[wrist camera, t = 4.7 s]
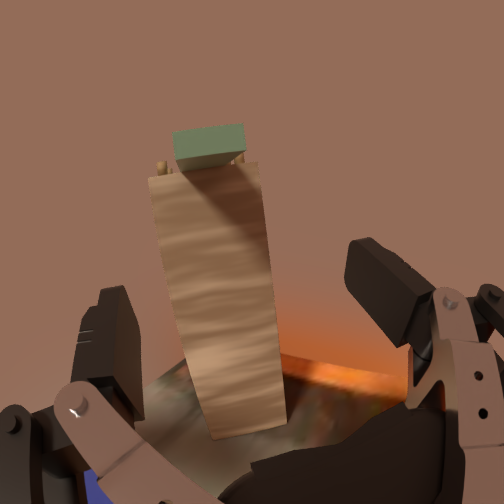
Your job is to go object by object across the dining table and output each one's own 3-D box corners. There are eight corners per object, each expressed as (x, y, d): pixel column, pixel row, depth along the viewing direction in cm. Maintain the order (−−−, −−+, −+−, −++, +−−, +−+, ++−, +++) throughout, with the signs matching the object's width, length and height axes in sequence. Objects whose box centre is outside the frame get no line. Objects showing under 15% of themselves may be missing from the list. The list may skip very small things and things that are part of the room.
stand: (287, 423, 33) (255, 145, 25) (212, 440, 31) (145, 161, 24) (261, 368, 47) (232, 161, 39) (204, 380, 45) (160, 172, 37)
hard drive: (54, 475, 21) (92, 544, 13) (100, 453, 27) (148, 515, 18) (60, 481, 21) (99, 548, 13) (105, 460, 27) (154, 520, 19)
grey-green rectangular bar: (246, 150, 16) (236, 77, 15) (175, 159, 15) (167, 84, 14) (213, 173, 37) (209, 139, 36) (183, 178, 36) (179, 144, 35)
